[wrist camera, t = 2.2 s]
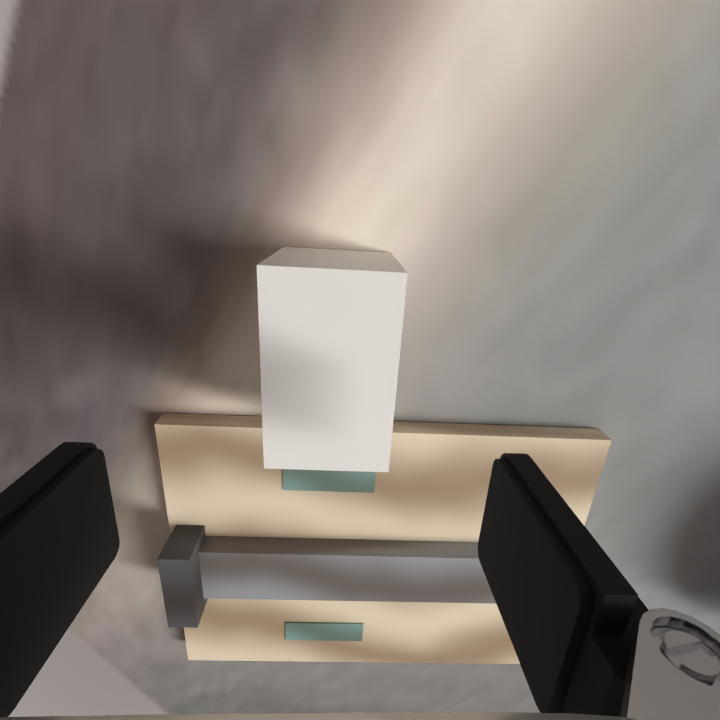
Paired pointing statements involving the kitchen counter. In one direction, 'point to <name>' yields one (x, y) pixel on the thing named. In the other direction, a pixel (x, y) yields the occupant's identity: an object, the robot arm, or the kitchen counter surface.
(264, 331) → the block
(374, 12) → the kitchen counter surface
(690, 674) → the robot arm
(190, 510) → the din panel
